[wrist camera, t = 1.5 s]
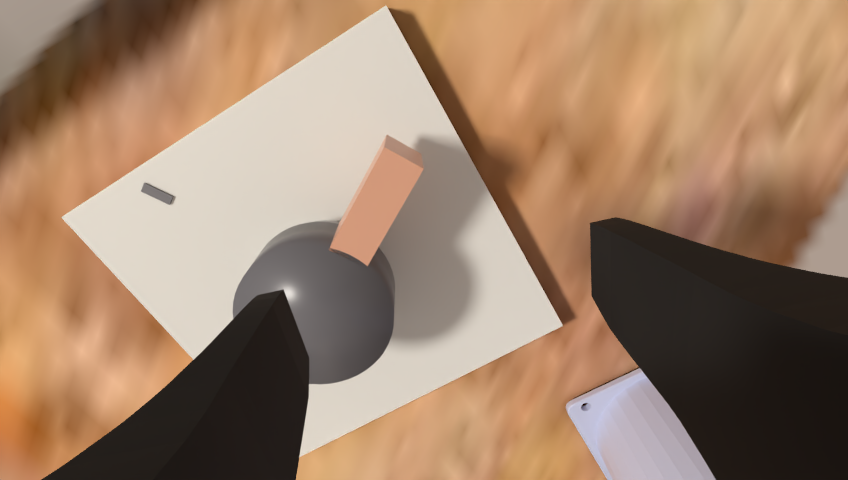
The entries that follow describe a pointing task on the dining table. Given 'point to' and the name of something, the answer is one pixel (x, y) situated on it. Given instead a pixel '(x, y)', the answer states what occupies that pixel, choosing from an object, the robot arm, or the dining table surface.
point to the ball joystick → (341, 271)
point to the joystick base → (326, 202)
